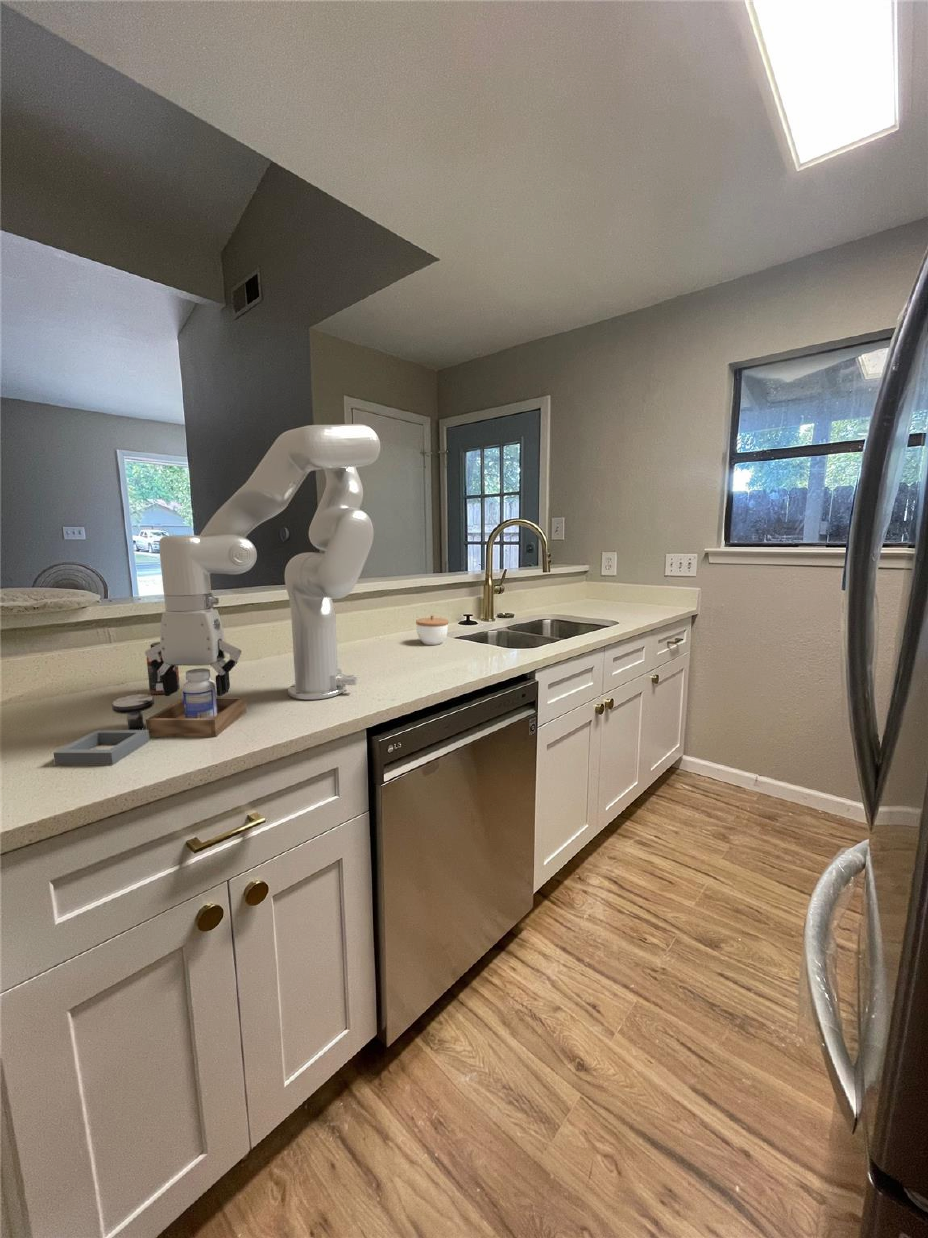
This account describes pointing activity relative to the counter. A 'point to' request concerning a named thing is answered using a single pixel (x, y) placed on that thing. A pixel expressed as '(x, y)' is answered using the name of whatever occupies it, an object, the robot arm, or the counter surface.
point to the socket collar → (85, 755)
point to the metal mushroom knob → (133, 709)
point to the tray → (195, 719)
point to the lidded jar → (432, 630)
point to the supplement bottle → (157, 676)
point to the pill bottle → (199, 694)
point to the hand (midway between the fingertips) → (197, 693)
